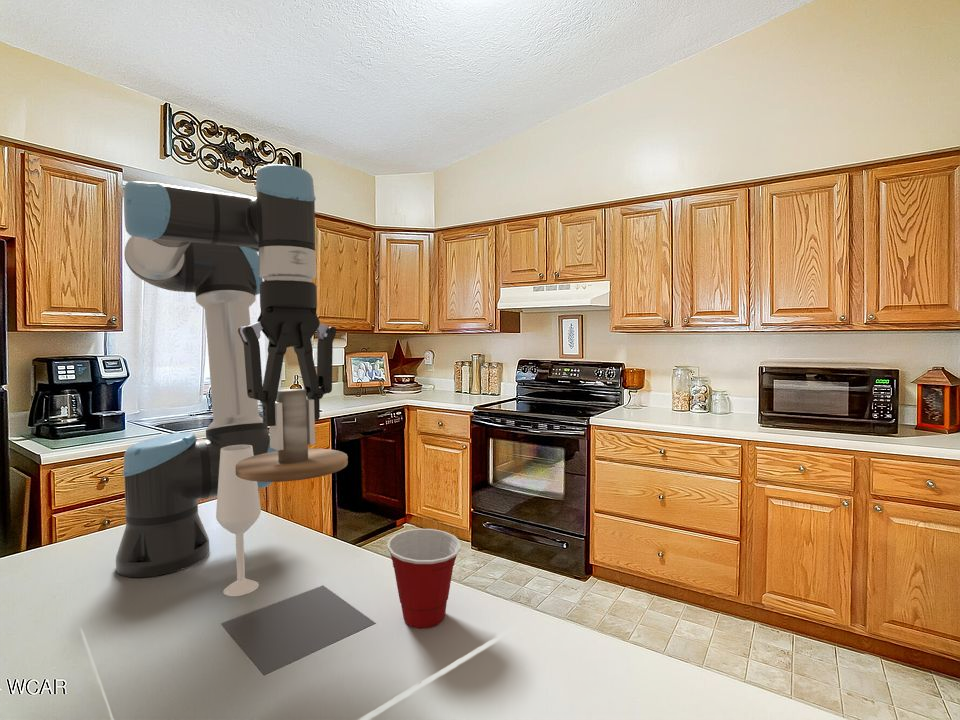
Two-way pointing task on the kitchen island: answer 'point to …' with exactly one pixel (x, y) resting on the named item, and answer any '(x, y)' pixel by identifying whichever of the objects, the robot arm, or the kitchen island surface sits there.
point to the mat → (295, 628)
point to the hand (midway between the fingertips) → (292, 445)
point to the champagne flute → (237, 509)
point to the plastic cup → (423, 573)
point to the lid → (292, 449)
